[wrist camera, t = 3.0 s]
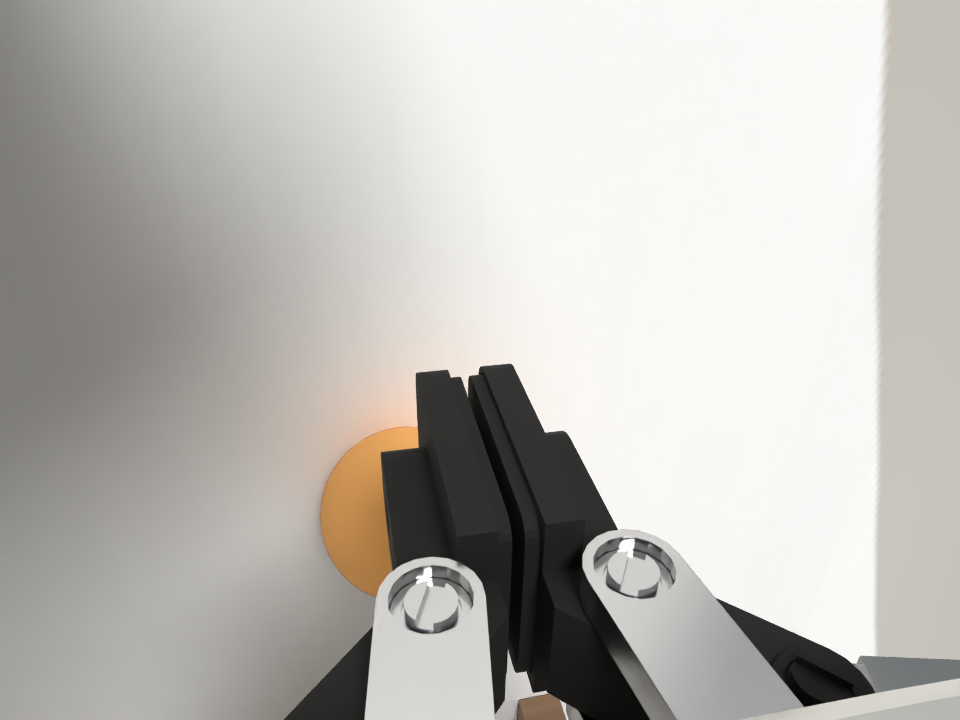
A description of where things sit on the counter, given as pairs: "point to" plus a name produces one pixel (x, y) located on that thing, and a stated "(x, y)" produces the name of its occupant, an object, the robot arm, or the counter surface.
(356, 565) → the ball
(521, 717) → the bridge
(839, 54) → the counter surface
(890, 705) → the robot arm
